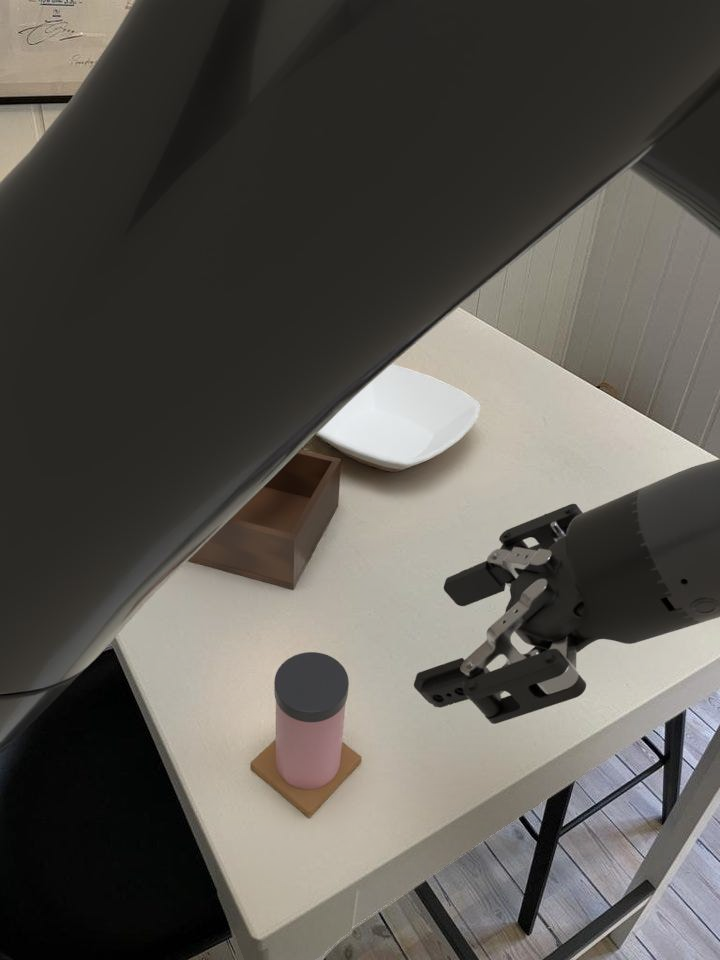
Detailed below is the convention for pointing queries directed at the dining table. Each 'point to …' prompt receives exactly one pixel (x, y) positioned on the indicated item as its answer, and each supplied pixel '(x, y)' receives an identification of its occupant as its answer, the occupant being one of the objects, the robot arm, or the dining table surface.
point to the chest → (279, 523)
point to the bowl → (401, 420)
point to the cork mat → (299, 797)
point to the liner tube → (309, 718)
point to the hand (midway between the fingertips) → (437, 639)
